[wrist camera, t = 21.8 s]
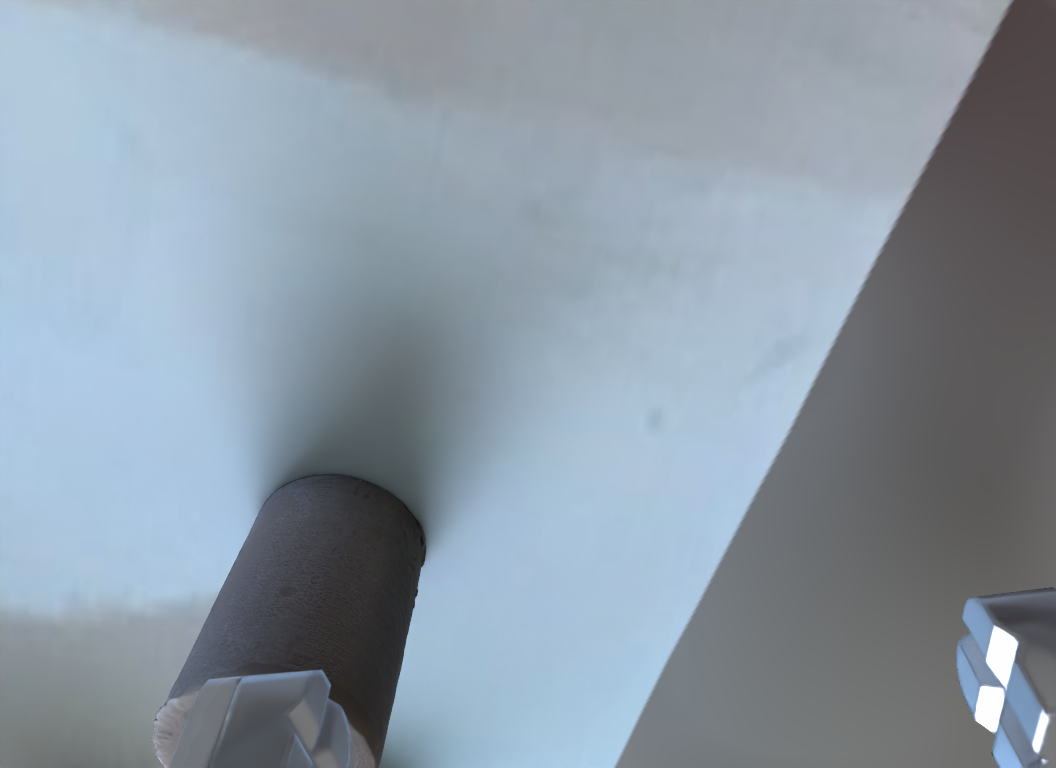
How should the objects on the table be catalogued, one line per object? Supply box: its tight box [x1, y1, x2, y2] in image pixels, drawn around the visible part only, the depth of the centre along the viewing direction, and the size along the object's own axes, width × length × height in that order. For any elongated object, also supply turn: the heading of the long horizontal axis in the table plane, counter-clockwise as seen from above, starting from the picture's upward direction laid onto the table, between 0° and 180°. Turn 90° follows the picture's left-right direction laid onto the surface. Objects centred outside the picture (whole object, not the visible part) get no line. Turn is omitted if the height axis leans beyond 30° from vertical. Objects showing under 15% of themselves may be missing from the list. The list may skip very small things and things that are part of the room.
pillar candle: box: [152, 475, 426, 768], centre depth 40 cm, size 10×10×15 cm
